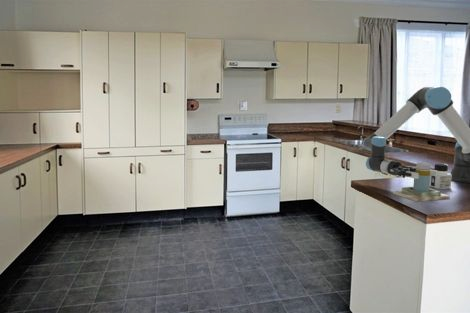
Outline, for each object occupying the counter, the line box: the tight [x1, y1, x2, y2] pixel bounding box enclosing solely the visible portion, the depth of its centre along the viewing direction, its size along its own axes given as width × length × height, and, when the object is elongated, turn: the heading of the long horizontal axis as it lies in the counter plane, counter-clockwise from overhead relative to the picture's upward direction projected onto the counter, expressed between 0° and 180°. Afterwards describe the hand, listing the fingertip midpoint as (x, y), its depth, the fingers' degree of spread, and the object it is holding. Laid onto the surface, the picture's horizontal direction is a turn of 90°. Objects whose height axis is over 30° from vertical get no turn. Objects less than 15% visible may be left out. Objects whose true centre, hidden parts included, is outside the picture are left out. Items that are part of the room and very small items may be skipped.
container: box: [429, 162, 452, 190], centre depth 205 cm, size 8×8×13 cm
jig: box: [392, 186, 451, 203], centre depth 187 cm, size 20×16×3 cm
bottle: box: [412, 162, 431, 193], centre depth 186 cm, size 7×7×15 cm
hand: (427, 174), depth 183 cm, fingers open, 13 cm apart
